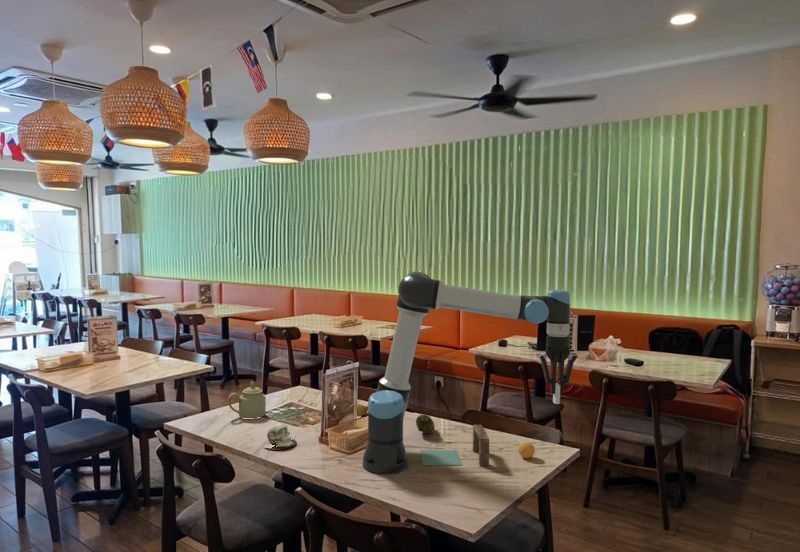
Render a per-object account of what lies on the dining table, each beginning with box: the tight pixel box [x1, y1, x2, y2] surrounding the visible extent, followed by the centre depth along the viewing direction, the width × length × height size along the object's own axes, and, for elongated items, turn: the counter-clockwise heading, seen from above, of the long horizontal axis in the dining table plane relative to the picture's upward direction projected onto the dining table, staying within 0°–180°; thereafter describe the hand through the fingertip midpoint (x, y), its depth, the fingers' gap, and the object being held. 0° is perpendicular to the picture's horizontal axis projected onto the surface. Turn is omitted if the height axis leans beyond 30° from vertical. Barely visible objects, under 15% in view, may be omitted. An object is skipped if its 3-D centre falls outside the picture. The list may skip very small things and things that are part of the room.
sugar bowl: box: [227, 380, 267, 419], centre depth 223 cm, size 15×11×15 cm
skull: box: [266, 423, 297, 451], centre depth 191 cm, size 12×10×10 cm
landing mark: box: [419, 449, 463, 466], centre depth 181 cm, size 13×13×1 cm
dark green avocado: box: [415, 414, 436, 434], centre depth 206 cm, size 8×13×8 cm, turn 152°
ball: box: [518, 441, 536, 459], centre depth 182 cm, size 6×6×6 cm
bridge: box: [472, 424, 490, 467], centre depth 181 cm, size 3×14×9 cm, turn 2°
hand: (556, 402), depth 182 cm, fingers closed
